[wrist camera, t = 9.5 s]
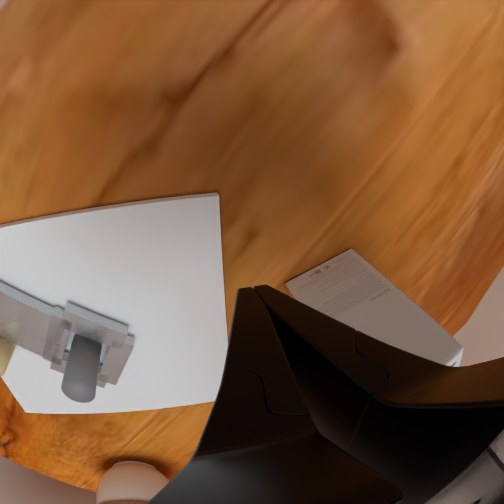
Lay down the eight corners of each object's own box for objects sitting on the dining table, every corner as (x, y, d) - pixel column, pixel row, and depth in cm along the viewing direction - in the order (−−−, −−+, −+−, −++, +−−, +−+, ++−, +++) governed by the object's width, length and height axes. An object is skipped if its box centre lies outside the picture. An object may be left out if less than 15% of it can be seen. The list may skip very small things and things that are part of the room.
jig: (230, 391, 28) (245, 440, 23) (27, 406, 23) (17, 450, 18) (216, 192, 20) (237, 222, 15) (-56, 237, 14) (-95, 273, 9)
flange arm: (138, 329, 21) (137, 387, 16) (113, 382, 23) (111, 436, 18) (-29, 253, 15) (-67, 294, 10) (-33, 317, 16) (-60, 362, 12)
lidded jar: (187, 462, 32) (201, 524, 24) (155, 488, 35) (164, 540, 26) (107, 444, 28) (109, 514, 19) (87, 473, 30) (88, 529, 22)
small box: (281, 282, 24) (372, 415, 13) (351, 245, 24) (468, 345, 13) (307, 346, 28) (377, 458, 17) (365, 314, 28) (449, 409, 17)
